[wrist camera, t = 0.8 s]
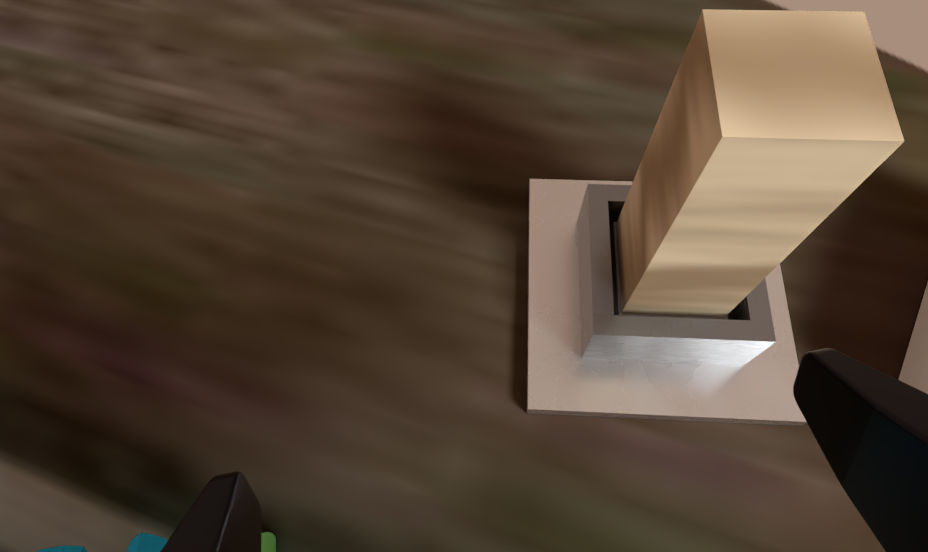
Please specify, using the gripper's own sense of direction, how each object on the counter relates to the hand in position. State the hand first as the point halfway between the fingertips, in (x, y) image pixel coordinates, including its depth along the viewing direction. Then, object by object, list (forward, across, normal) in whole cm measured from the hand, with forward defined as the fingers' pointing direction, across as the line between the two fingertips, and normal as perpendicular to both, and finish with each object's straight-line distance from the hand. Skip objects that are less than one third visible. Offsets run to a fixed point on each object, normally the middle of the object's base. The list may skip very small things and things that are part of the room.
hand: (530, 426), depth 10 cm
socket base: (+14, -8, +10) cm, 19 cm away
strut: (+13, -8, +9) cm, 18 cm away
